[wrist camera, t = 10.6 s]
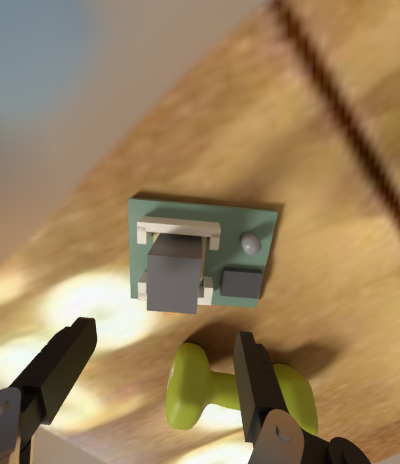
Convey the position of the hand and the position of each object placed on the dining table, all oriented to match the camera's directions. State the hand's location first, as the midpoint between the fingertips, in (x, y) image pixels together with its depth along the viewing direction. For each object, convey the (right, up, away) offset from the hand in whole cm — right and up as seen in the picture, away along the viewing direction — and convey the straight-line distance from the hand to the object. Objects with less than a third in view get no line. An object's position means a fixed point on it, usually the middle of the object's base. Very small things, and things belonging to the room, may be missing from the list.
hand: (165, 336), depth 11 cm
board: (+2, +3, +10) cm, 11 cm away
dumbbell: (+6, -12, +16) cm, 21 cm away
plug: (0, +3, +9) cm, 9 cm away
